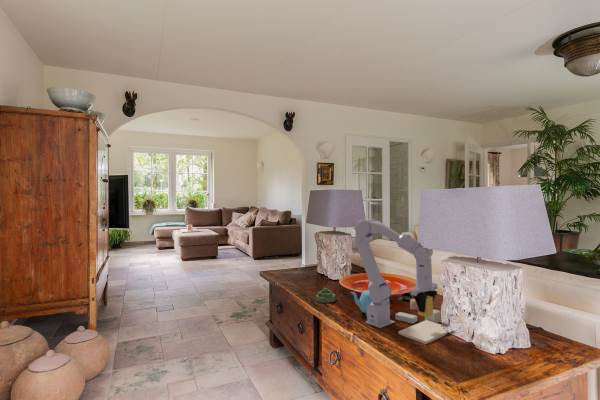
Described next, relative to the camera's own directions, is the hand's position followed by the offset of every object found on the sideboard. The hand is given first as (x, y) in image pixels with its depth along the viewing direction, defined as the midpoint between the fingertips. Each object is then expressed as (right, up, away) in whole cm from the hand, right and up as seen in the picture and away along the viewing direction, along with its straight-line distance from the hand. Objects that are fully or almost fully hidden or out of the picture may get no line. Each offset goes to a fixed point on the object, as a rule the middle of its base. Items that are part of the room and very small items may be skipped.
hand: (425, 310), depth 133 cm
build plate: (+6, -8, +40) cm, 41 cm away
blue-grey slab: (-3, -9, +13) cm, 16 cm away
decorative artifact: (-35, -10, +45) cm, 58 cm away
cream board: (0, -8, -1) cm, 8 cm away
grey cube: (+7, -8, +10) cm, 15 cm away
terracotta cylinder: (+5, -8, +27) cm, 28 cm away
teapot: (-17, -9, +23) cm, 30 cm away
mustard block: (0, -2, 0) cm, 2 cm away
